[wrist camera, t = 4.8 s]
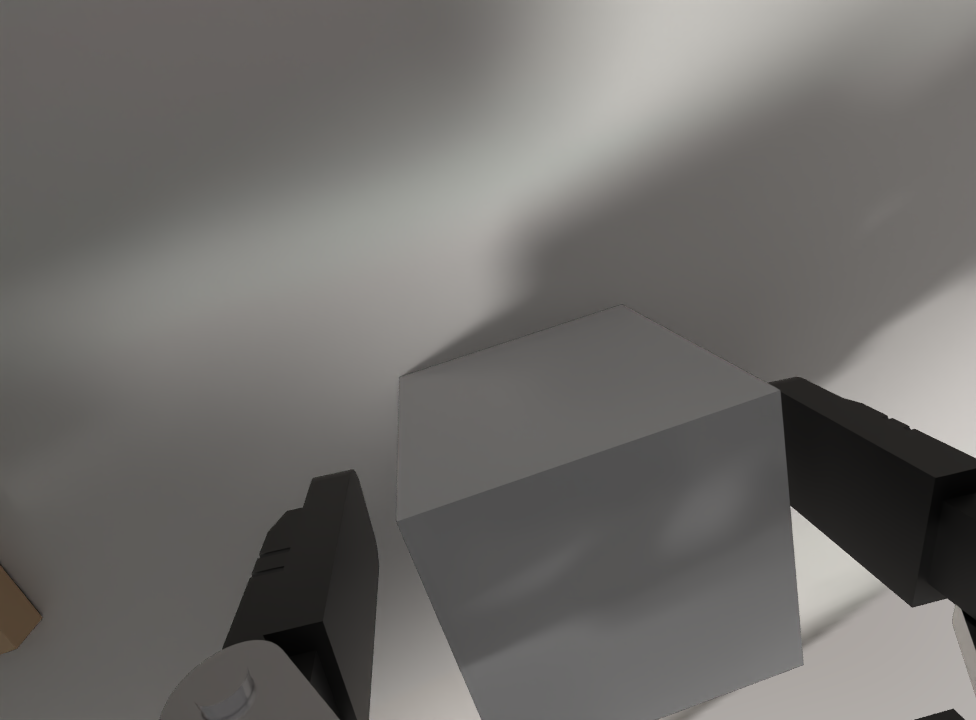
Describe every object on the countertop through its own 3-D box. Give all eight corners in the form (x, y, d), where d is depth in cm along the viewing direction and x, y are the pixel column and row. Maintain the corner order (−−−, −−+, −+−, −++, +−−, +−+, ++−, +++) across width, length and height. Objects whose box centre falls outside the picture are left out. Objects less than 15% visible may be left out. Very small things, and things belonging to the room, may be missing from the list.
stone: (657, 489, 13) (803, 665, 8) (467, 556, 13) (505, 776, 8) (620, 303, 11) (780, 389, 6) (398, 376, 11) (396, 521, 6)
